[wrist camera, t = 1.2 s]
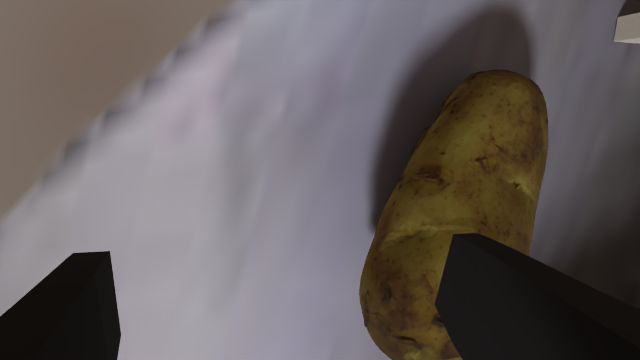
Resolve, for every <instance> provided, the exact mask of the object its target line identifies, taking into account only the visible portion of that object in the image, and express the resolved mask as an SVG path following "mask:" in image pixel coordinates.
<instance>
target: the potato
mask: <svg viewBox="0 0 640 360" xmlns="http://www.w3.org/2000/svg"><path fill="white" fill-rule="evenodd" d="M547 151H548V117H547V109H546V103H545V100H544V96H543V93H542V92H541V90H540V88H539V87H538V85H537V84H535V83H534V82H533V81H532V80H531V79H529V78H527V77H525V76H522V75H520V74H517V73H515V72H511V71H508V70H489V71H481V72H477V73H474V74H472V75H470V76H469V77H468V78H467V79H466V80H465V81H464V82H463V83H462V84H460V85H459V86H458V87H457V88H456V89H455V90H454V91H453V92H451V93H450V95H449V96H448V98H447V100H445V101H444V102H443V109H442V111H441V113H440V115H439V117H438V118H437V120H436V121H435V122H434V123H433V125H430V126H428V127H427V128H426V129H425V130H424V131H423V133H422V135H421V137H420V139H419V141H418V143H417V144H416V146H415V148H414V150H413V152H412V156H411V158H410V160H409V162H408V164H407V166H406V168H405V169H404V170H403V171H402V174H401V176H400V178H399V181H398V183H397V185H396V187H395V188H394V190H393V192H392V194H391V195H390V197H389V200H388V202H387V204H386V206H385V208H384V210H383V212H382V215H381V217H380V220H379V222H378V225H377V229H376V232H375V236H374V239H373V242H372V244H371V247H370V249H369V252H368V255H367V258H366V261H365V265H364V268H363V272H362V276H361V281H360V290H359V295H360V304H361V308H362V313H363V317H364V325H365V326H366V327H367V330H368V332H369V334H370V336H371V338H372V339H373V341H374V342H375V344H376V345H377V346H378V348H379V349H380V350H381V351H382V352H383V353H385V354H386V355H387V356H388V357H389V358H391V359H392V360H463V359H462V358H461V356H460V355H459V353H458V351H457V350H456V348H455V346H454V345H453V343H452V341H451V339H450V337H449V335H448V333H447V331H446V329H445V327H444V325H443V322H442V320H441V318H440V316H439V313H438V311H437V309H436V307H435V300H436V297H437V293H438V289H439V285H440V282H441V278H442V274H443V270H444V267H445V263H446V259H447V255H448V252H449V248H450V244H451V240H452V237H453V234H463V233H478V234H481V235H484V236H486V237H489V238H491V239H493V240H496V241H498V242H500V243H502V244H504V245H506V246H509V247H511V248H513V249H515V250H517V251H519V252H521V253H523V254H525V255H527V256H529V251H530V246H531V240H532V235H533V228H534V220H535V213H536V209H537V204H538V199H539V194H540V189H541V184H542V180H543V176H544V171H545V165H546V158H547Z"/></svg>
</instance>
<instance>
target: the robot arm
mask: <svg viewBox="0 0 640 360" xmlns="http://www.w3.org/2000/svg"><path fill="white" fill-rule="evenodd" d="M435 307H436V309H437V311H438V313H439V316H440V318H441V320H442V322H443V325H444V327H445V329H446V331H447V333H448V335H449V337H450V339H451V341H452V343H453V345H454V346H455V348H456V350H457V351H458V353H459V355H460V356H461V358H462V359H463V360H640V310H639V309H637V308H635V307H633V306H631V305H628V304H626V303H624V302H622V301H620V300H618V299H615V298H613V297H611V296H609V295H607V294H604V293H602V292H600V291H598V290H596V289H594V288H592V287H590V286H588V285H586V284H583V283H581V282H579V281H577V280H575V279H573V278H571V277H569V276H567V275H565V274H563V273H561V272H559V271H557V270H555V269H553V268H551V267H549V266H547V265H545V264H543V263H541V262H539V261H537V260H535V259H533V258H531V257H529V256H527V255H525V254H523V253H521V252H519V251H517V250H515V249H513V248H511V247H509V246H506V245H504V244H502V243H500V242H498V241H496V240H493V239H491V238H489V237H486V236H484V235H481V234H478V233H463V234H453V237H452V240H451V244H450V248H449V252H448V255H447V259H446V263H445V267H444V270H443V274H442V278H441V282H440V285H439V289H438V293H437V297H436V300H435ZM120 338H121V331H120V324H119V316H118V309H117V301H116V294H115V286H114V279H113V271H112V264H111V256H110V251H106V252H87V253H73V254H72V255H71V256H69V257H68V258H67V259H66V260H65V261H63V262H62V263H61V264H60V265H59V266H58V267H57V268H55V269H54V270H53V271H52V272H51V273H50V274H49V275H48V276H46V277H45V278H44V279H43V280H42V281H41V282H40V283H38V284H37V285H36V286H35V287H34V288H33V289H32V290H31V291H29V292H28V293H27V294H26V295H25V296H24V297H23V298H21V299H20V300H19V301H18V302H17V303H16V304H14V305H13V306H12V307H11V308H10V309H9V310H7V311H6V312H5V313H4V314H3V315H2V316H0V360H117V357H118V350H119V344H120Z"/></svg>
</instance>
